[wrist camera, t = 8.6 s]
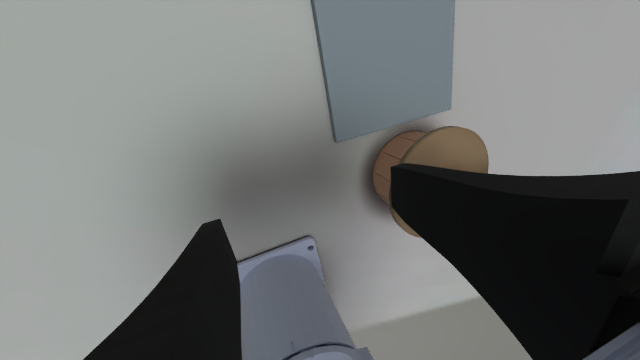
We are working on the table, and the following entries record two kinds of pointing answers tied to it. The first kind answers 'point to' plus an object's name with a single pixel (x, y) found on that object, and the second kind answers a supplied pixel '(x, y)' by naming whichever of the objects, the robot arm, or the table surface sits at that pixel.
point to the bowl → (391, 160)
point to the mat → (384, 61)
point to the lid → (445, 156)
